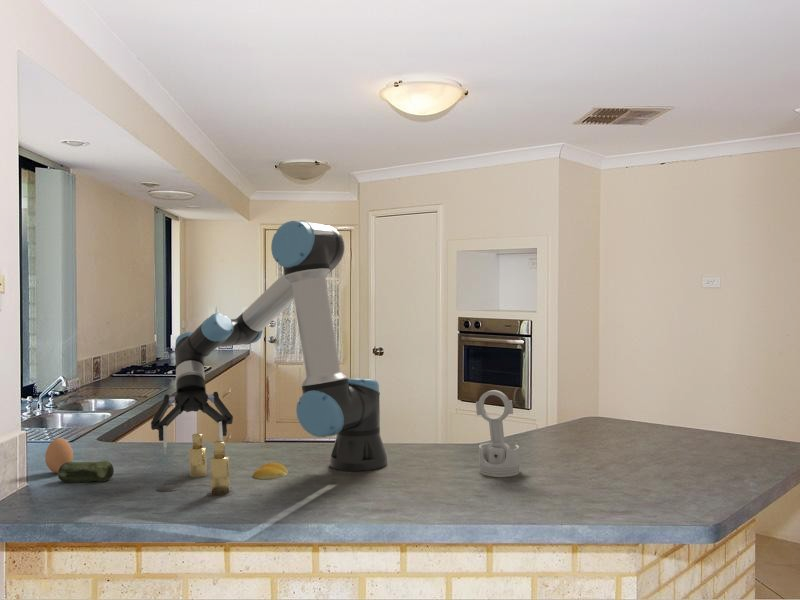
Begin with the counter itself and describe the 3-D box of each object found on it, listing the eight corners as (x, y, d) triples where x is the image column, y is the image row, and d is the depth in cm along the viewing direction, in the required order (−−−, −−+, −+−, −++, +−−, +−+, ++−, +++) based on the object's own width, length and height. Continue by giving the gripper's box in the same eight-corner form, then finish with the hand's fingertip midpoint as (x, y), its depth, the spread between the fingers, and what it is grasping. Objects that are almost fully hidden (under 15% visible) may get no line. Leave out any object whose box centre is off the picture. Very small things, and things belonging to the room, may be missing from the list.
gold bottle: (233, 491, 155) (232, 440, 155) (222, 496, 151) (221, 444, 151) (218, 490, 156) (217, 439, 156) (207, 495, 153) (206, 443, 153)
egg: (62, 476, 177) (61, 441, 177) (39, 475, 178) (38, 440, 178) (79, 469, 184) (78, 435, 184) (57, 469, 185) (56, 435, 185)
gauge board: (254, 493, 158) (254, 487, 158) (223, 509, 147) (223, 502, 146) (169, 485, 166) (169, 480, 166) (133, 499, 155) (133, 493, 155)
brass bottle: (210, 479, 172) (209, 433, 172) (200, 483, 168) (199, 436, 168) (196, 477, 173) (195, 432, 173) (186, 481, 169) (185, 435, 169)
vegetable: (117, 478, 175) (116, 458, 175) (109, 483, 170) (108, 463, 170) (62, 479, 175) (62, 459, 175) (52, 484, 170) (51, 464, 170)
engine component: (513, 478, 166) (523, 468, 176) (511, 394, 166) (522, 388, 175) (470, 474, 171) (483, 465, 180) (469, 392, 171) (481, 387, 180)
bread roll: (248, 485, 166) (247, 468, 166) (262, 475, 175) (261, 459, 175) (280, 485, 165) (280, 469, 165) (293, 476, 174) (292, 460, 174)
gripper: (236, 387, 193) (243, 451, 179) (142, 392, 185) (141, 460, 171) (238, 370, 188) (245, 435, 174) (141, 375, 180) (140, 444, 166)
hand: (193, 448), depth 172 cm, fingers open, 13 cm apart
